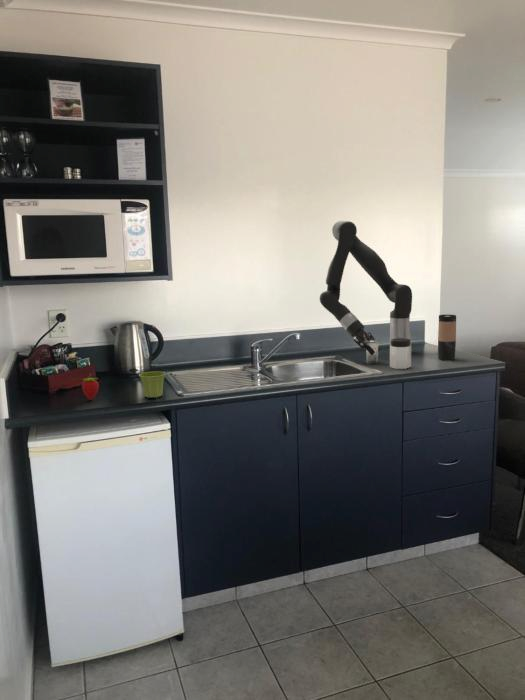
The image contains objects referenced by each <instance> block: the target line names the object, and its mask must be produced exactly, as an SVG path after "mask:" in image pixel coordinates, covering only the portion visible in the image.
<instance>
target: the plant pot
mask: <svg viewBox="0 0 525 700" xmlns="http://www.w3.org/2000/svg"><path fill="white" fill-rule="evenodd" d="M166 374H167V373H166V372H165V371H158V370H157V371H155V370H154V371H146V372H142V373H139V374H138V377H140V381H141V385H142V388H143V394H144V397H145V396H146V397H158V396H161V395H162V396H163V391H164V381H165V380H164V379H165V375H166ZM158 398H159V397H158Z"/></svg>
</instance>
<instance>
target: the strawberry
mask: <svg viewBox="0 0 525 700" xmlns="http://www.w3.org/2000/svg"><path fill="white" fill-rule="evenodd" d="M91 375H92V373H90V375H89V376H88V377H87V378H83V379H82V383H81V390H82V392H83V394H84V395H85V397H87V399H88V400H89V399H93V400H94V398H95V397H96V395H97V393H98V391H99V387H100V385H99V382H98V381H97V380H98V378H97V377H90V376H91Z"/></svg>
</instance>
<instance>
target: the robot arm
mask: <svg viewBox="0 0 525 700" xmlns="http://www.w3.org/2000/svg"><path fill="white" fill-rule="evenodd" d="M331 229H332V230H331V232H332V235H333V237H334V239H335V240H336V241H337V246H336V247H337V248H336V250H335V253H334V255H333V258H332V259H331V261H330V264H329V266H328V270H327V274H326V277H325V284H326V285H327V287H326V288H327V289H326V291H322V292H321V293H320V295H319V302H320V304H321V305H322V307H323V308H324V309H326V311H328V312H329V313H330V314H332V315H333V316H334V317H335V319H336V320H337V321H338V322H339V323H340V325H341V326H342V328H343V329H344V330H345V332H347V333H348V335H349V336H350V337H351V338H353V340H352V341H354V342H355V344H357V346H359V347H360V348H361V349H362V350H363V349H364V350H367V351H368V352H369V353H370V354H371V355H373V354H374V353H375V351H374V350H373V349H372V348H371V347H370V346H369V344H368V343H367V341H368V340H376V338H375V337H374V336H373V334H372V333H371V331H370V332H366V331H365V330H364V329H365V325H364V324H363V323H362V322H361V321H360V320H359V318H358V317H357V316H356V315H355V314H354V313H353V312H351V310H350V309H349V308H348V307H347V306H346V305H344V304H343V303H341V302H340V301H339V300H340V298H341V297H340V296H341V282H342V279H343V275H344V270H345V267H346V263H347V261H348V260H347V259H348V256H349V254H351V256H352V257H353V259H354V260H355V261H356V262H357V263H358V264H359V266H360V267H361V268H362V269H363V270H364V272H366V273H367V274H368V276H370V278H371V279H372V280H373V281H374V282H375V283H376V284H377V285H378V286H379V288H380V290H382V292H383V293H384V295H385V296H386V298H387V299H388V300H389V302H392V303H394V308H393V310H391V311H390V312H389V313H390V314H389V347H390V346H391V339H396V338H405V339H410V345H411V346H412V333H411V332H410V323H411V322H410V319H411V317H410V316H411V312H412V306H413V305H412V304H413V291H412V288H411V287H410V285H407V284H399V283H398V282H397V281H395V280H394V278H393V277H391V275H390V274H389V272H388V269H387V265H386V263H385V261H384V260H383V259H382V258H381V257H380V256H379V254H378V253H377V252H376V251H375V250H374V249H373V248H371V247H369V245H367V244H366V243H364V242H363V241H362V240H361V239H360V238H359V237H358V236H357V231H358V230H357V229H358V228H357V226H356V224H355V223H354V222H352V221H350V220H339V221H337V222H335V223H334V224H333V225H332V228H331ZM380 352H381V348H380V347H379V346H378V353H380Z"/></svg>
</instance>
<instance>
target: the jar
mask: <svg viewBox="0 0 525 700" xmlns="http://www.w3.org/2000/svg"><path fill="white" fill-rule="evenodd" d="M409 367H410V368H411V367H412V344H411V345H410V339H405V338H396V339H391V346H390V345H389V368H392V369H396V370H407V368H408V369H409Z"/></svg>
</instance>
